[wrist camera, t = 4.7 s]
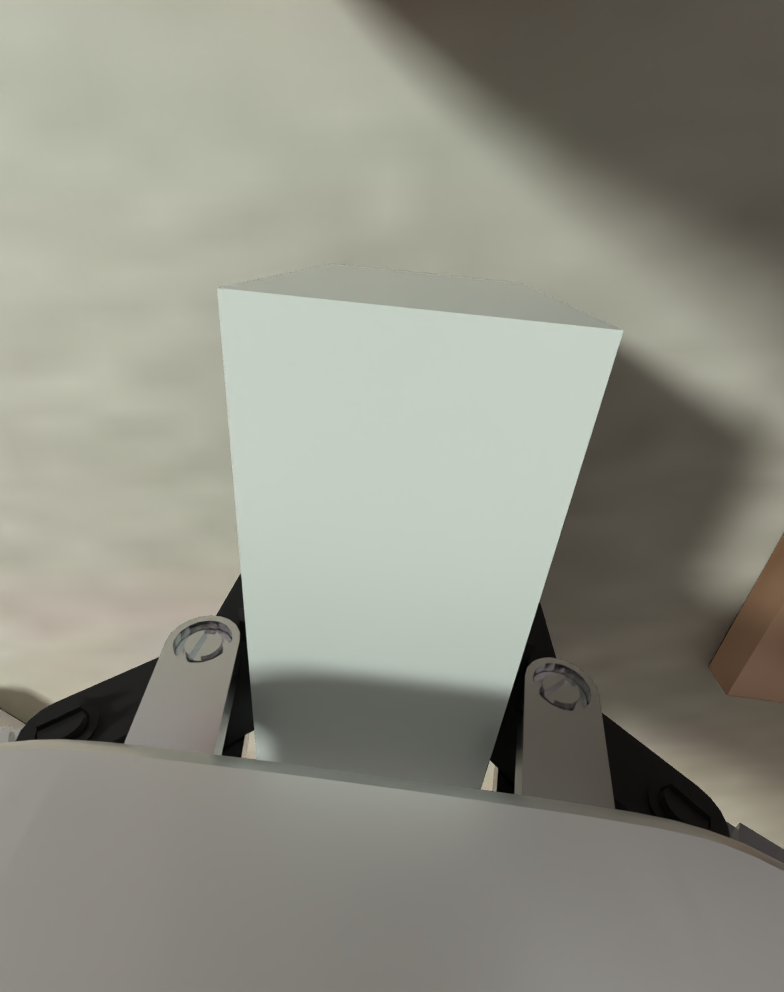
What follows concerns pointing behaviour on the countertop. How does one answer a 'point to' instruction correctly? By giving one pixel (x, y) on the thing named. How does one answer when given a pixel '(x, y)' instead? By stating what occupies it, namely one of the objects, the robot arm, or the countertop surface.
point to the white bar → (399, 504)
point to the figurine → (10, 721)
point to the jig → (756, 639)
